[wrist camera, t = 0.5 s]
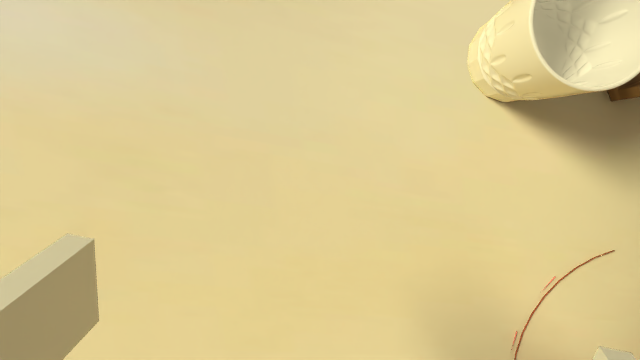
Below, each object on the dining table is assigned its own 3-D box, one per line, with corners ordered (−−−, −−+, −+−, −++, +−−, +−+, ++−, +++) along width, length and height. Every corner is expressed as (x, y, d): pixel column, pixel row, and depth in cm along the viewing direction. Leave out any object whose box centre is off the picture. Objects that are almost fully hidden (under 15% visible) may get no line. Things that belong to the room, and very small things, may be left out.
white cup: (464, 115, 34) (536, 99, 24) (454, 15, 33) (523, -45, 23) (559, 103, 34) (667, 82, 24) (550, 4, 34) (657, -59, 24)
